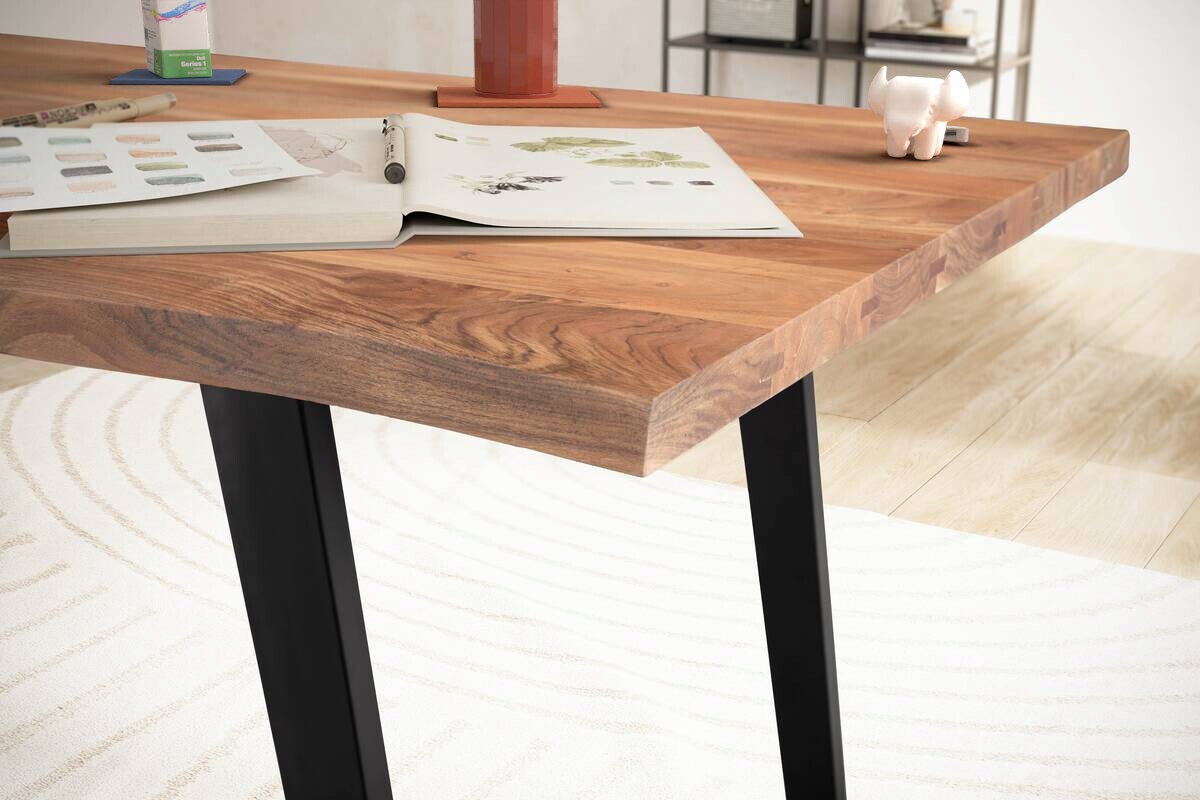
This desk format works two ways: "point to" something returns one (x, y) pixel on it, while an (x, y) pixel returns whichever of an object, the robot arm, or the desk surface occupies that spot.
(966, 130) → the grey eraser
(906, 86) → the elephant figurine
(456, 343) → the desk surface
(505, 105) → the terracotta mat
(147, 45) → the ink box
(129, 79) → the blue mat
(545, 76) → the terracotta cup
